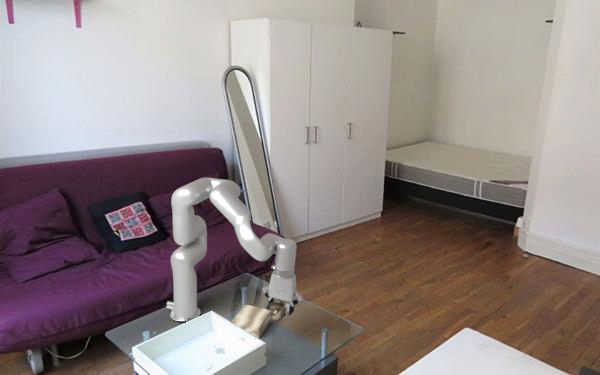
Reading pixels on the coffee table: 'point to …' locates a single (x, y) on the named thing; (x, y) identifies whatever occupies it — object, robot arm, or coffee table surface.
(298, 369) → the coffee table surface
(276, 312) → the eagle figurine
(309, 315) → the coffee table surface
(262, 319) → the pedestal
